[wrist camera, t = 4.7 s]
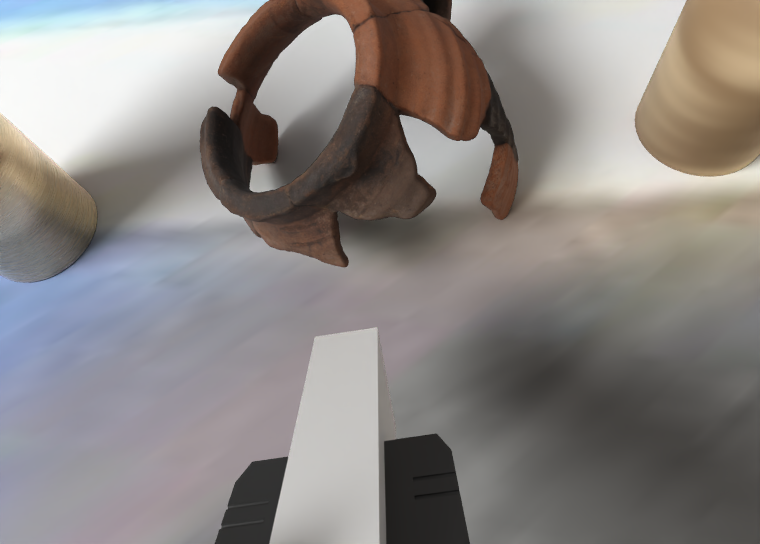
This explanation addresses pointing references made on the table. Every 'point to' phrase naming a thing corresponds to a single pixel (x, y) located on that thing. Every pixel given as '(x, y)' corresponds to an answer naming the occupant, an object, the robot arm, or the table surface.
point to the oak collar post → (706, 91)
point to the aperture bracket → (39, 211)
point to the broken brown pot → (355, 122)
